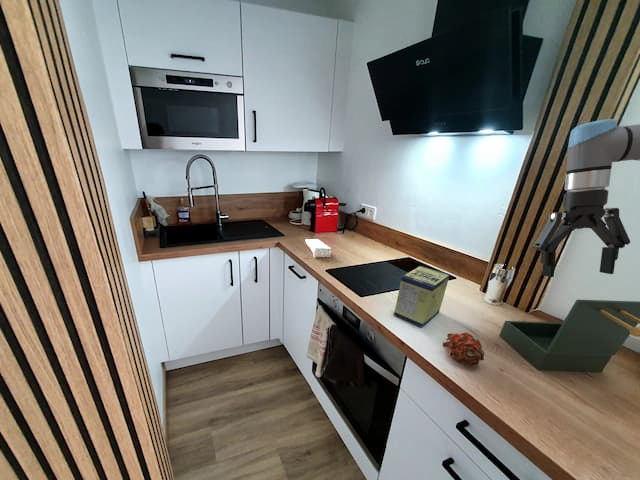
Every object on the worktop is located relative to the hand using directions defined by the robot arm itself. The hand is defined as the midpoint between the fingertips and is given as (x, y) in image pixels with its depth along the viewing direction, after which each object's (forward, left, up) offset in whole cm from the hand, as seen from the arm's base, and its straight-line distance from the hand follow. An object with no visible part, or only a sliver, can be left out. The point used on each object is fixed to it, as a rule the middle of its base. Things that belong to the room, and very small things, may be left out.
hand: (576, 274), depth 74 cm
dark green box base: (-3, -3, -26) cm, 26 cm away
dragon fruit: (+21, +12, -26) cm, 36 cm away
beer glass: (+6, -33, -26) cm, 43 cm away
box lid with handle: (-6, +4, -12) cm, 14 cm away
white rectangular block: (+88, -56, -26) cm, 108 cm away
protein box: (+33, -8, -26) cm, 43 cm away
